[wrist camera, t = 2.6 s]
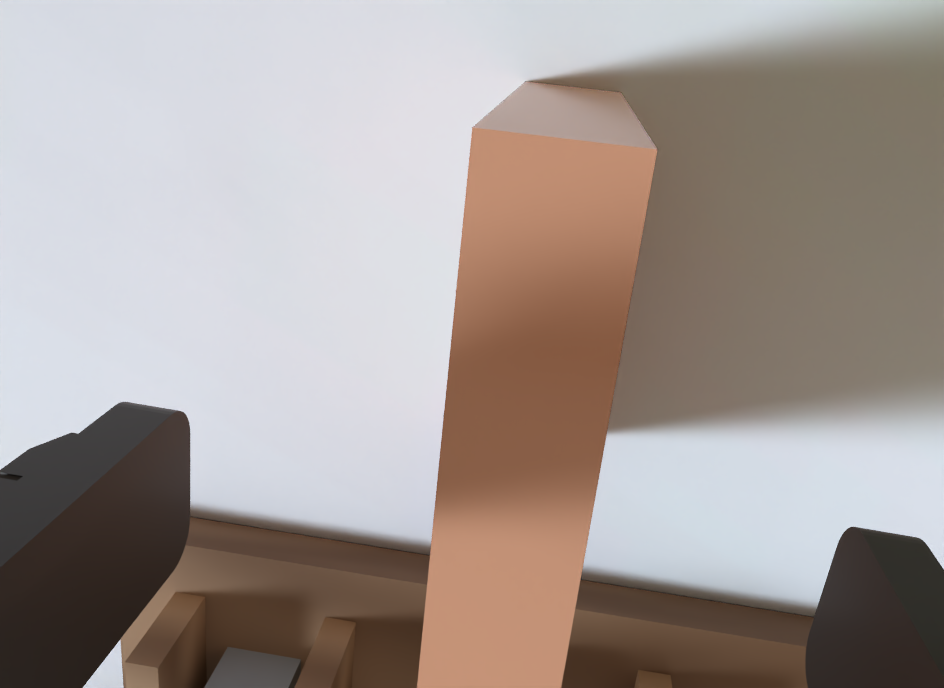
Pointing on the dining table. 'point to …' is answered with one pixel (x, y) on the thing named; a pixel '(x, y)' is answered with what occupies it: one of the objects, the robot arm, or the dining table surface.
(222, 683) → the grey-blue thick slab
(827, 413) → the dining table surface
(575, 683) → the dish rack
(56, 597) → the robot arm
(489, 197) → the salmon pink rectangular prism
